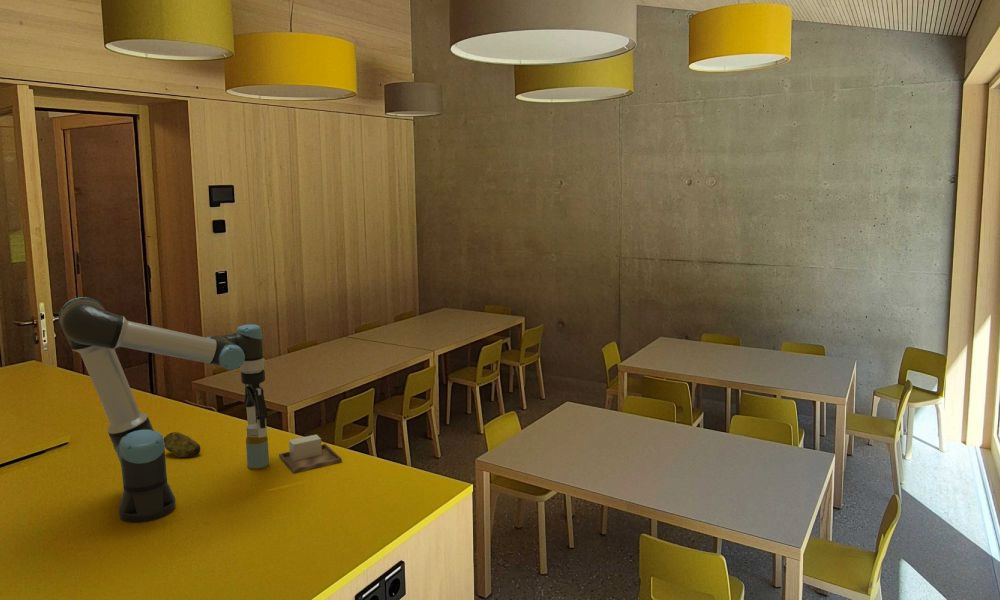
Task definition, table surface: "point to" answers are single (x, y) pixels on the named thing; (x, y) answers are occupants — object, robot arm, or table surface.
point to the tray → (311, 460)
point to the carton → (305, 447)
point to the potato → (181, 445)
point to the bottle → (256, 449)
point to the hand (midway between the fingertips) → (257, 430)
